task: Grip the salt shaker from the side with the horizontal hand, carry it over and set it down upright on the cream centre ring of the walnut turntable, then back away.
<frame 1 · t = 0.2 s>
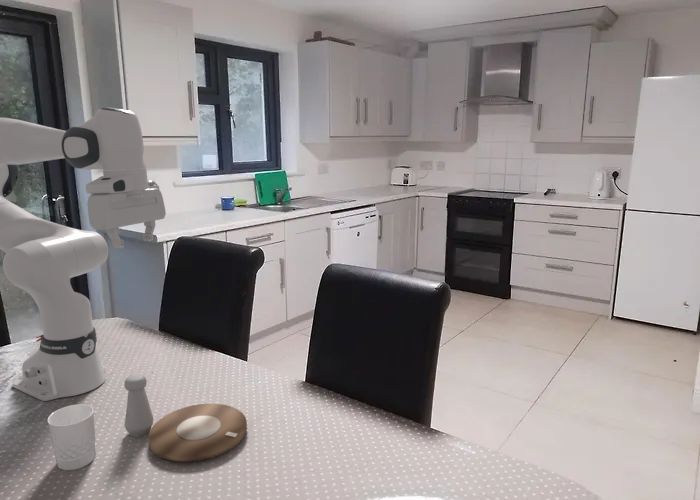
hand: (134, 244, 114), 39 cm above the table, tool pointing down, fingers open, 8 cm apart
white cup: (76, 460, 100), on the table
salt shaker: (140, 432, 110), on the table
turntable: (199, 429, 108), point 2 cm above the table, hinge at 0.0°
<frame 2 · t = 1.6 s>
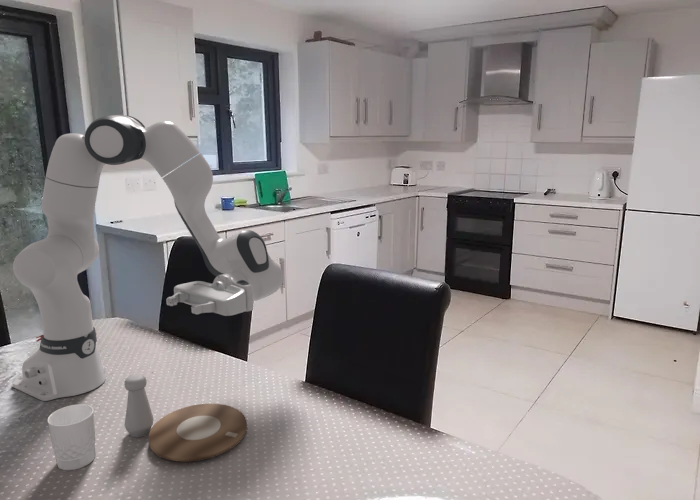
hand: (180, 306, 113), 25 cm above the table, tool horizontal, fingers open, 8 cm apart
nothing on the table moved.
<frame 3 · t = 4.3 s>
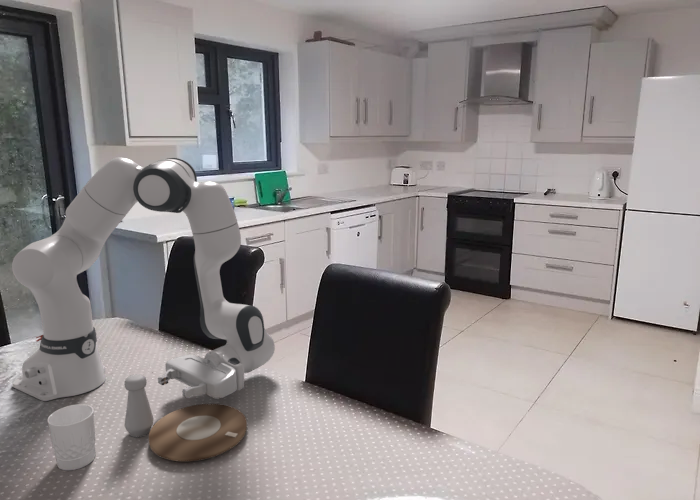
hand: (171, 387, 115), 7 cm above the table, tool horizontal, fingers open, 8 cm apart
nothing on the table moved.
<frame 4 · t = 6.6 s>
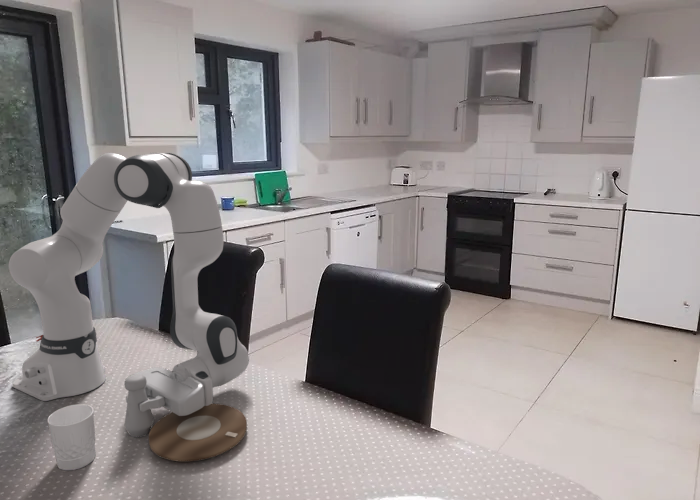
hand: (133, 404, 107), 7 cm above the table, tool horizontal, fingers closed on salt shaker, 3 cm apart
salt shaker: (140, 432, 110), on the table, touching gripper
everything else where it was.
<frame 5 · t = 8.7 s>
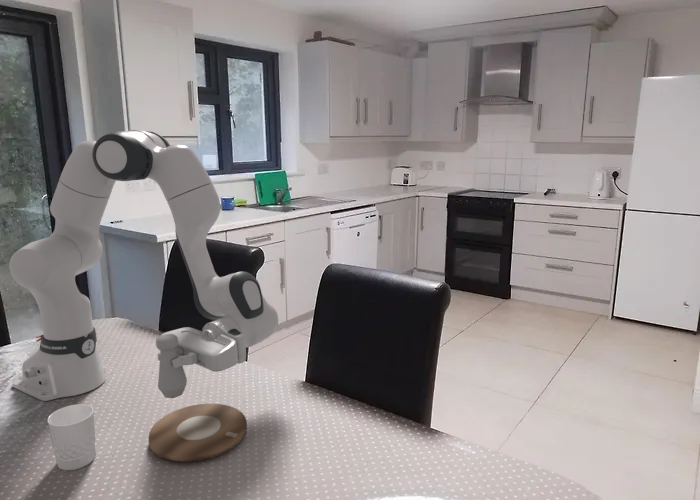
hand: (165, 360, 104), 17 cm above the table, tool horizontal, fingers closed on salt shaker, 3 cm apart
salt shaker: (174, 394, 107), point 9 cm above the table, touching gripper
everything else where it was.
when the fingers open (11 cm above the table, at t = 10.9 s): salt shaker stays where it is, resting on turntable.
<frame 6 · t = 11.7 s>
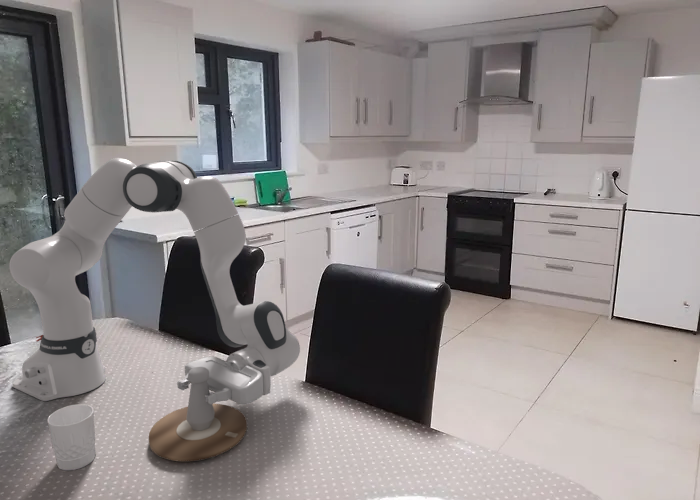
hand: (192, 393, 105), 11 cm above the table, tool horizontal, fingers open, 8 cm apart
salt shaker: (201, 426, 108), point 2 cm above the table, touching turntable
turntable: (199, 429, 108), point 2 cm above the table, hinge at 0.0°, touching salt shaker
everything else where it was.
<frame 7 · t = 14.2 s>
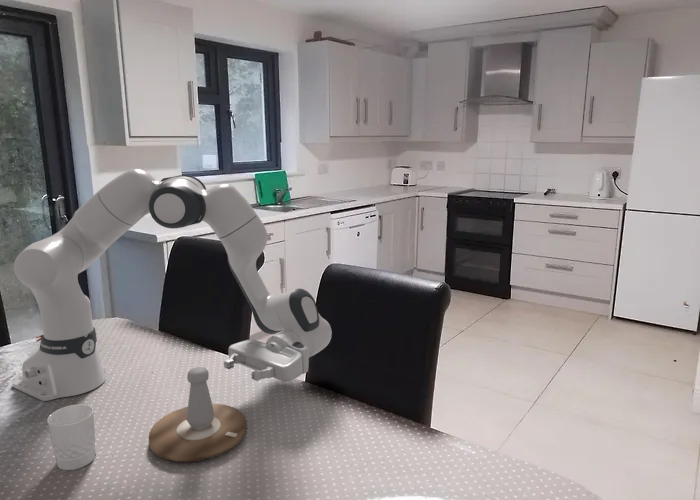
hand: (239, 371, 115), 11 cm above the table, tool horizontal, fingers open, 8 cm apart
nothing on the table moved.
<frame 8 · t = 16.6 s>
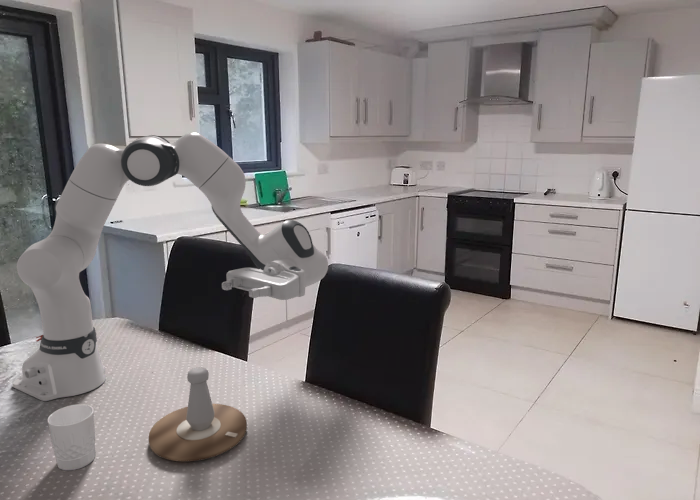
hand: (237, 290, 117), 28 cm above the table, tool horizontal, fingers open, 8 cm apart
nothing on the table moved.
at the end: salt shaker 0.5 cm off-centre on the turntable, point 2.0 cm above the turntable's base; salt shaker tilted 0°; the gripper is holding nothing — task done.
